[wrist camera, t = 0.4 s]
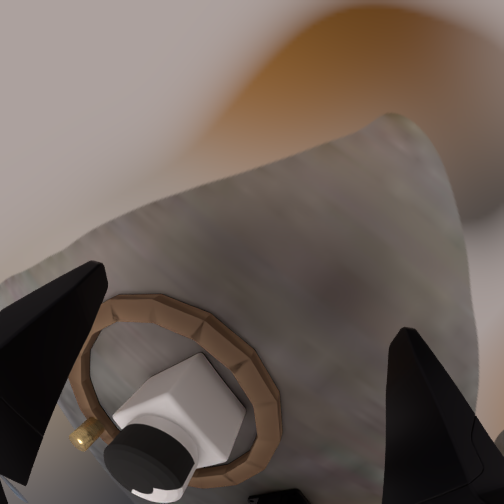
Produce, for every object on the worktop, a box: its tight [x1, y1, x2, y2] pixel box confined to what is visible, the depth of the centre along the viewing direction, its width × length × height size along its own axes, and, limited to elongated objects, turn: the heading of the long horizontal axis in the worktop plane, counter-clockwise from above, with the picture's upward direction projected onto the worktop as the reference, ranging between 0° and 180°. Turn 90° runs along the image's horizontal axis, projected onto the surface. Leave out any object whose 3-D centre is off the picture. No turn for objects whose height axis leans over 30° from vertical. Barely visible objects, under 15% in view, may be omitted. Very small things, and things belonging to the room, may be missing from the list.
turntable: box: [68, 294, 283, 488], centre depth 25 cm, size 23×23×6 cm
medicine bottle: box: [104, 353, 246, 503], centre depth 21 cm, size 7×7×12 cm
